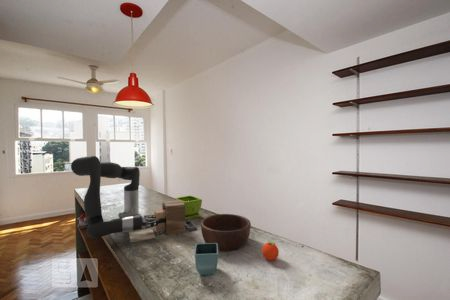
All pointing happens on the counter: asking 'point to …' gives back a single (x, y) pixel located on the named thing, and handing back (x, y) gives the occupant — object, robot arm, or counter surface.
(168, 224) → the tunnel
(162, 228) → the tall wood-grain block
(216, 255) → the flower pot
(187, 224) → the pit tray
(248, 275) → the counter surface
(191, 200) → the flower pot
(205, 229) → the wooden bowl
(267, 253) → the clementine
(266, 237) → the counter surface
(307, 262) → the counter surface
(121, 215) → the food container
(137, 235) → the pad
